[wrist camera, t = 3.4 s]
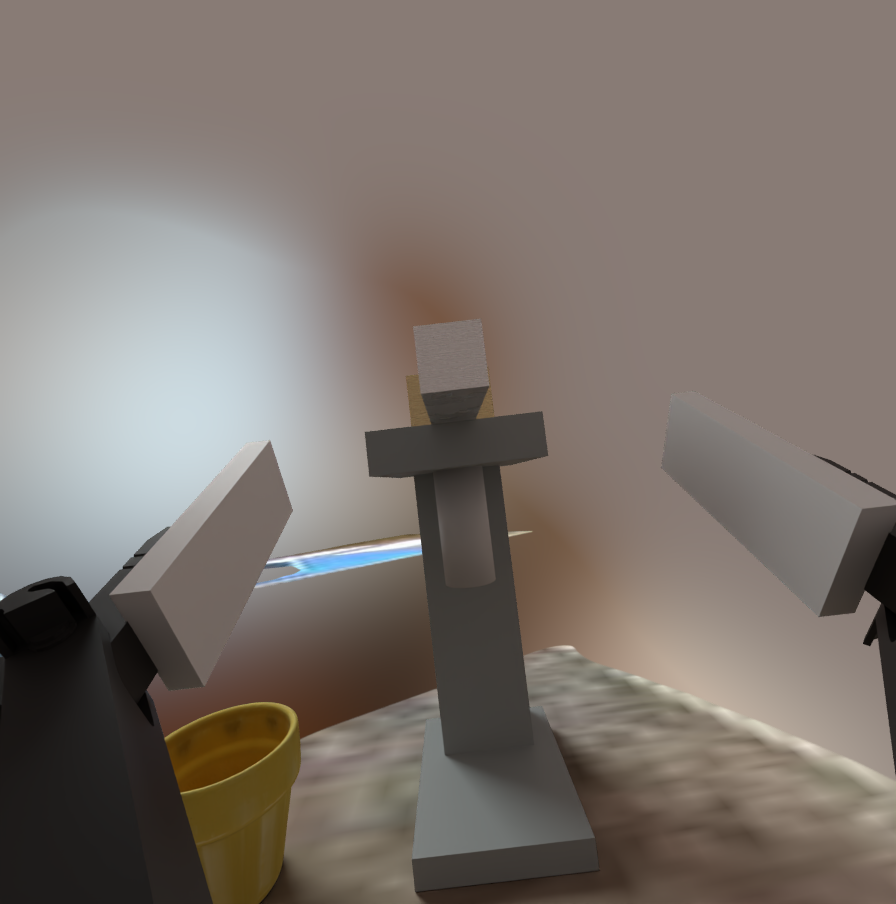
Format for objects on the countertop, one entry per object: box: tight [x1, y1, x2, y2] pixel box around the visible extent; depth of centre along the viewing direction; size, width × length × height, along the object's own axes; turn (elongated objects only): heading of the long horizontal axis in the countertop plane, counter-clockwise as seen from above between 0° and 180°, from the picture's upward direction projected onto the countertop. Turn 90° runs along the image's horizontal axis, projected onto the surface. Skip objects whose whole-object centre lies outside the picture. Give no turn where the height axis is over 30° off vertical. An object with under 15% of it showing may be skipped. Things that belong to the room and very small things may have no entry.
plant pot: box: [164, 702, 301, 904], centre depth 29 cm, size 10×10×10 cm
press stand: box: [365, 412, 599, 892], centre depth 36 cm, size 12×17×30 cm
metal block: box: [406, 319, 494, 427], centre depth 28 cm, size 6×20×4 cm, turn 0°
